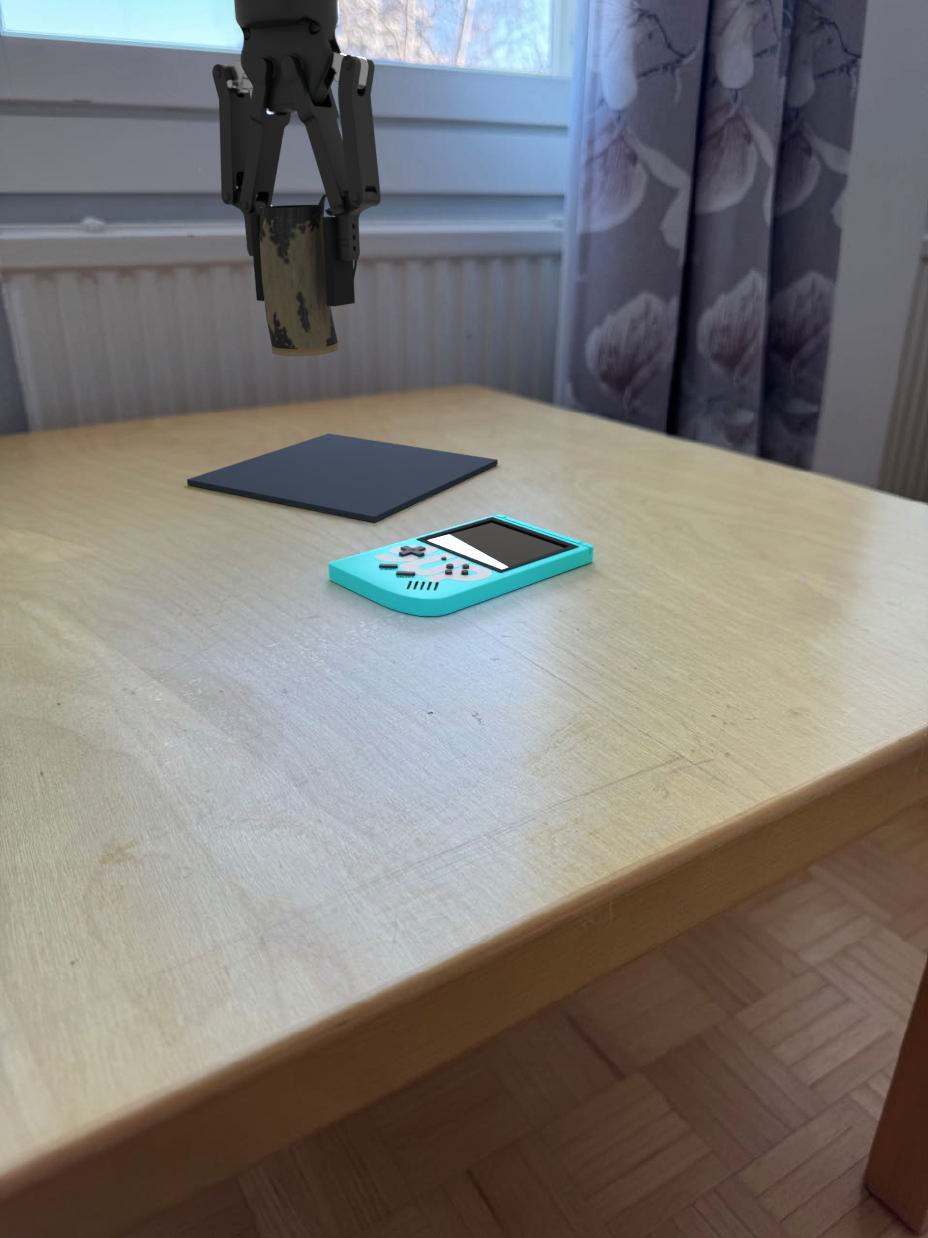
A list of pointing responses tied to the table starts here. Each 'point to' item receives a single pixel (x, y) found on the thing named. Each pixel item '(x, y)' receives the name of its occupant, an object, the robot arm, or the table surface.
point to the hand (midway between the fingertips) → (305, 301)
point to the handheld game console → (459, 565)
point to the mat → (346, 476)
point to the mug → (296, 280)
